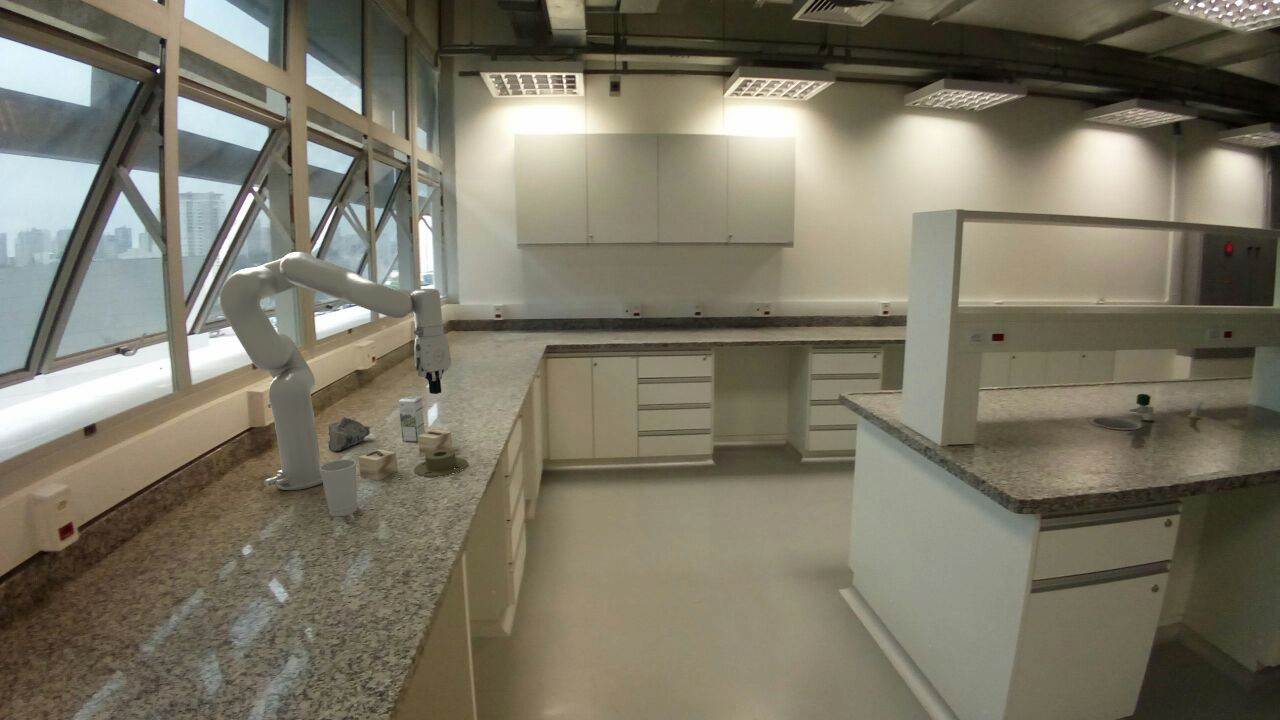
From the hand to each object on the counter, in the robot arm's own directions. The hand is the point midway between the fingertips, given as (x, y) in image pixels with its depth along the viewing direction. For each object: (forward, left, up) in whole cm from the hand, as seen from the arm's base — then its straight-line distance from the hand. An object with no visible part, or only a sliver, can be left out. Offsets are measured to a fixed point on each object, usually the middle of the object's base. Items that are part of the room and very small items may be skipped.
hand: (435, 392), depth 174 cm
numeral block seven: (-14, +10, -22) cm, 28 cm away
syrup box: (+13, +25, -22) cm, 36 cm away
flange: (-3, -3, -22) cm, 23 cm away
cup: (-35, -2, -22) cm, 41 cm away
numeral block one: (+7, +9, -22) cm, 25 cm away
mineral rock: (0, +40, -22) cm, 46 cm away
